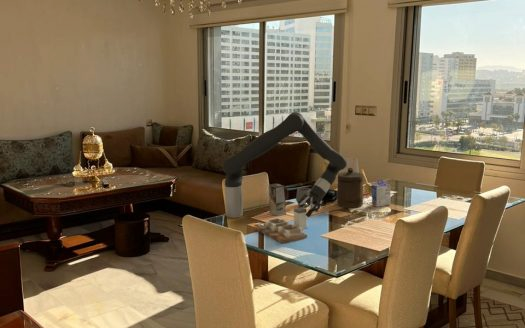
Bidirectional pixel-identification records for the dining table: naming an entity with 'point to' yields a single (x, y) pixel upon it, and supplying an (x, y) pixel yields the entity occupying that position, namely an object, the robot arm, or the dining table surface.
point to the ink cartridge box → (381, 194)
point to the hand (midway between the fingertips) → (302, 214)
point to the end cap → (330, 196)
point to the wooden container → (350, 189)
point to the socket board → (281, 230)
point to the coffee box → (277, 199)
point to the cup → (300, 194)
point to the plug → (300, 217)
